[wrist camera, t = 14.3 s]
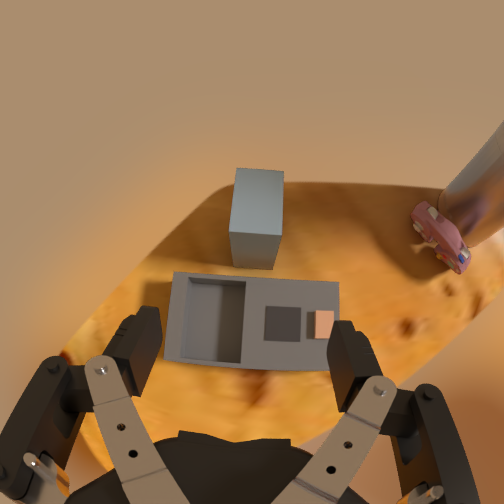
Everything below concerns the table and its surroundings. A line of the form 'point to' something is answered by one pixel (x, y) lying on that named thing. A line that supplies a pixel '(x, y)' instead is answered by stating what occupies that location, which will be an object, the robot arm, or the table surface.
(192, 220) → the table surface
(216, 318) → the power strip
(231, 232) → the block
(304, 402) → the table surface
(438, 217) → the pink curved toy
